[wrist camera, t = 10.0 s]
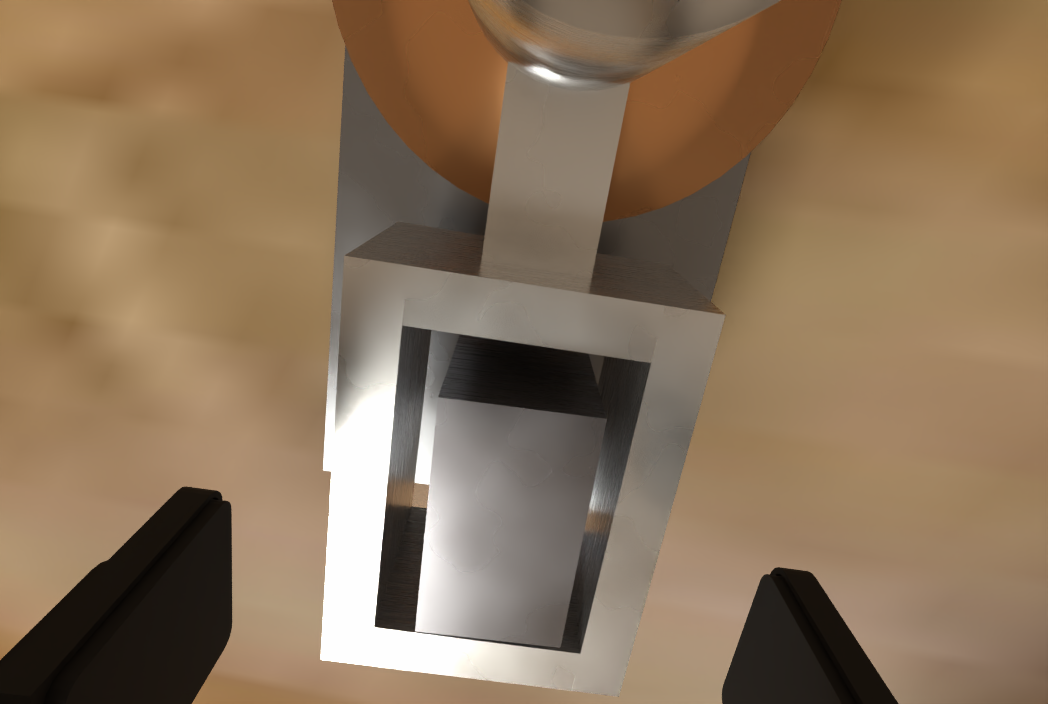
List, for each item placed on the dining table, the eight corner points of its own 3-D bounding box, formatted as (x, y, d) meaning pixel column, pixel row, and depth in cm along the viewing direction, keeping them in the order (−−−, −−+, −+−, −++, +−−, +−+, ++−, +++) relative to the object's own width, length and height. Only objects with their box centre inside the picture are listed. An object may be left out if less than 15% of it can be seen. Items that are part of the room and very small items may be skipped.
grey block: (546, 435, 23) (560, 647, 13) (462, 425, 22) (414, 631, 13) (570, 292, 21) (606, 418, 11) (479, 279, 21) (437, 397, 11)
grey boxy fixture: (648, 501, 25) (810, 985, 11) (331, 456, 24) (51, 907, 10) (812, -122, 18) (1975, -1190, 3) (368, -207, 17) (-417, -1919, 3)
